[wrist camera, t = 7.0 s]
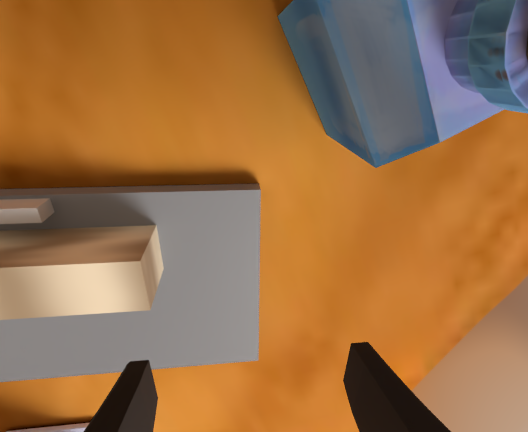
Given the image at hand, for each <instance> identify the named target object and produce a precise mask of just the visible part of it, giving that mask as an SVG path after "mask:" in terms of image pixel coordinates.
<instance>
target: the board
mask: <svg viewBox="0 0 528 432" xmlns="http://www.w3.org/2000/svg"><path fill="white" fill-rule="evenodd" d="M260 196H261V189H260V186H259V183H257V184H210V185H164V186H117V187H71V188H24V189H0V231H8V230H36V229H64V228H92V227H120V226H148V225H157V231H158V237H159V243H160V249H161V255H162V261H163V268H164V269H163V272H162V275H161V278H160V282H159V285H158V288H157V291H156V294H155V297H154V300H153V304H152V307H151V310H147V311H131V312H116V313H100V314H85V315H69V316H54V317H38V318H23V319H7V320H0V382H8V381H20V380H32V379H44V378H56V377H67V376H79V375H91V374H103V373H115V372H123V370H124V368H125V367H126V365H127V364H128V363H129V362H130V361H140V360H149V362H150V366H151V369H162V368H174V367H186V366H198V365H210V364H222V363H234V362H246V361H257V360H258V348H259V272H260Z"/></svg>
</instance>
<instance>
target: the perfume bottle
mask: <svg viewBox="0 0 528 432" xmlns="http://www.w3.org/2000/svg"><path fill="white" fill-rule="evenodd" d="M277 17H278V19H279V21H280V24H281V26H282V28H283V31H284V33H285V36H286V38H287V40H288V43H289V45H290V48H291V50H292V52H293V55H294V57H295V60H296V62H297V64H298V67H299V69H300V72H301V74H302V76H303V79H304V81H305V84H306V86H307V88H308V91H309V93H310V96H311V98H312V100H313V103H314V105H315V108H316V110H317V112H318V115H319V117H320V120H321V122H322V124H323V127H324V129H325V131H326V134H327V135H328V136H330V137H331V138H333V139H334V140H336V141H337V142H339V143H340V144H341V145H343V146H344V147H346V148H347V149H349V150H350V151H352V152H353V153H355V154H356V155H358V156H359V157H361V158H362V159H364V160H365V161H366V162H368V163H369V164H371V165H372V166H374V167H375V168H377V167H379V166H382V165H384V164H387V163H389V162H392V161H394V160H397V159H399V158H402V157H404V156H407V155H409V154H412V153H414V152H417V151H420V150H422V149H425V148H427V147H430V146H432V145H435V144H437V143H440V142H442V141H444V140H446V139H448V138H450V137H452V136H453V135H455V134H457V133H459V132H461V131H463V130H465V129H467V128H469V127H471V126H473V125H475V124H477V123H479V122H481V121H483V120H484V119H486V118H488V117H490V116H492V115H494V114H496V113H498V112H500V111H502V110H504V109H506V110H510V111H517V112H523V113H528V0H293V1H292V2H291V3H290V4H289V5H288V6H287V7H286V8H285V9H284V10H283V11H282V12H281V13H280V14H279V15H278V16H277Z"/></svg>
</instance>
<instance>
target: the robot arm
mask: <svg viewBox="0 0 528 432" xmlns="http://www.w3.org/2000/svg"><path fill="white" fill-rule="evenodd" d="M343 381H344V385H345V389H346V392H347V396H348V400H349V403H350V407H351V410H352V413H353V416H354V419H355V421H356V424H357V426H358V429H359V431H360V432H451V431H450V430H448V428H447V427H446V426H445V425H444V424H443V423H442V422H441V421H440V420H439V419H438V418H437V417H436V416H435V415H434V414H433V413H432V412H431V411H430V410H429V409H428V408H427V407H426V406H425V405H424V404H423V403H422V402H421V401H420V400H419V399H418V398H417V397H416V396H415V395H414V393H413V392H412V391H411V390H410V389H409V388H408V387H407V386H406V385H405V384H404V383H403V382H402V380H401V379H400V378H399V377H398V376H397V375H396V374H395V373H394V371H393V370H392V369H391V368H390V367H389V366H388V365H387V364H386V362H385V361H384V360H383V359H382V358H381V357H380V355H379V354H378V353H377V352H376V351H375V350H374V349H373V347H372V346H371V345H370V344H369V343H368V342H362V343H351V346H350V351H349V356H348V361H347V365H346V370H345V375H344V380H343ZM157 400H158V397H157V392H156V388H155V384H154V379H153V375H152V371H151V366H150V362H149V360H140V361H130V362H129V363H128V364H127V365H126V367H125V368H124V370H123V372H122V373H121V375H120V377H119V378H118V380H117V382H116V383H115V385H114V386H113V388H112V390H111V391H110V393H109V394H108V396H107V397H106V399H105V401H104V402H103V404H102V405H101V407H100V408H99V410H98V411H97V413H96V414H95V416H94V417H93V419H92V420H91V421H90V423H81V424H71V425H61V426H51V427H41V428H31V429H21V430H11V431H6V432H153V428H154V421H155V415H156V407H157Z"/></svg>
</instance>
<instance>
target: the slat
mask: <svg viewBox="0 0 528 432" xmlns="http://www.w3.org/2000/svg"><path fill="white" fill-rule="evenodd" d="M163 269H164V268H163V261H162V255H161V249H160V243H159V237H158V231H157V225H148V226H120V227H92V228H64V229H36V230H8V231H0V320H7V319H23V318H38V317H54V316H69V315H85V314H100V313H116V312H131V311H147V310H151V307H152V304H153V300H154V297H155V294H156V291H157V288H158V285H159V282H160V278H161V275H162V272H163Z"/></svg>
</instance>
